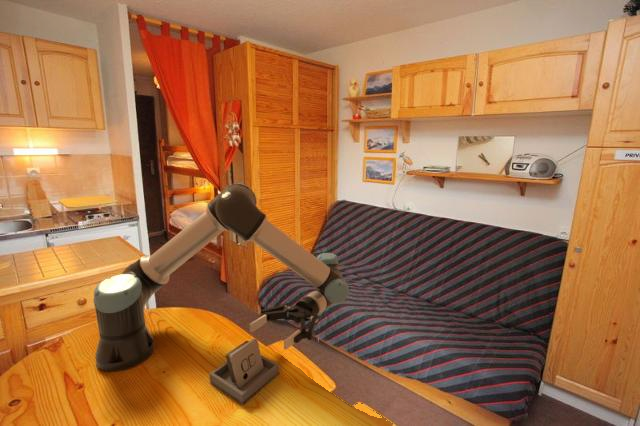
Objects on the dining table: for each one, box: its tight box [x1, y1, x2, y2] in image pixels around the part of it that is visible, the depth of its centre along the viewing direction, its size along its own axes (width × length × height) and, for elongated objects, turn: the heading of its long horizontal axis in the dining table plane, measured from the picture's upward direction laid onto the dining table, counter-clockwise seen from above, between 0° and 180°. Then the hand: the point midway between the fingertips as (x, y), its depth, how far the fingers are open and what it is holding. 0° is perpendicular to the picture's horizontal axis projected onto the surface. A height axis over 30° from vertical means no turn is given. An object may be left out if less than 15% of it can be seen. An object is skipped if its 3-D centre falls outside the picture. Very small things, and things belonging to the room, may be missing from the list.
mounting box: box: [209, 354, 280, 406], centre depth 90 cm, size 13×14×3 cm
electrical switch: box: [225, 338, 264, 388], centre depth 89 cm, size 9×5×9 cm, turn 146°
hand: (267, 336), depth 95 cm, fingers open, 13 cm apart
